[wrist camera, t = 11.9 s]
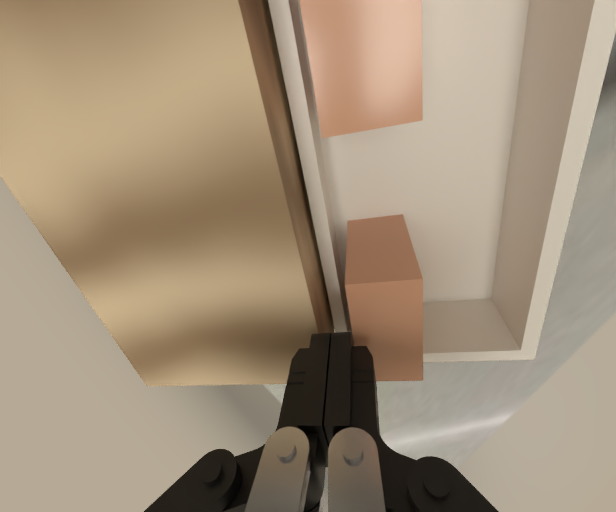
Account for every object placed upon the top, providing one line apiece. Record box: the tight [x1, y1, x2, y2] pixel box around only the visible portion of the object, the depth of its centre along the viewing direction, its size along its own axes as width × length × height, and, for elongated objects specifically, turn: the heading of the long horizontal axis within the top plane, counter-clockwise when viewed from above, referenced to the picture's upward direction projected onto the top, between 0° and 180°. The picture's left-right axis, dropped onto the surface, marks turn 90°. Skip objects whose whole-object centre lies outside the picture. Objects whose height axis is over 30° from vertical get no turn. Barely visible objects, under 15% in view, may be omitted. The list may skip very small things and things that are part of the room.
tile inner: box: [299, 0, 423, 138], centre depth 9 cm, size 5×5×2 cm
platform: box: [0, 0, 334, 386], centre depth 13 cm, size 18×10×5 cm, turn 11°
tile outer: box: [345, 214, 423, 381], centre depth 14 cm, size 5×5×2 cm
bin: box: [268, 0, 616, 363], centre depth 11 cm, size 18×8×4 cm, turn 11°
